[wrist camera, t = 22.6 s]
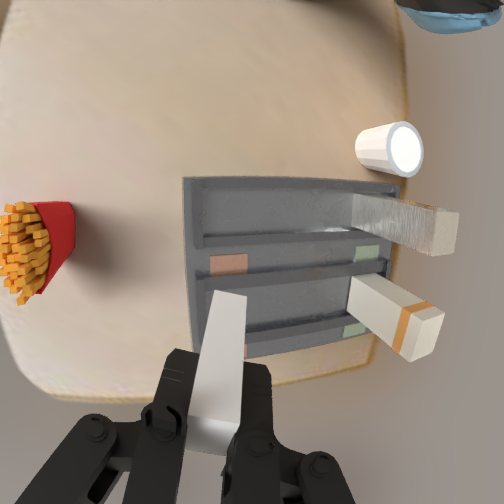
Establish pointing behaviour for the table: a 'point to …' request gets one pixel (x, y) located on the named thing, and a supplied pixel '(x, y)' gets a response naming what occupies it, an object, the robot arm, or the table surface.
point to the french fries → (35, 244)
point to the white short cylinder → (391, 149)
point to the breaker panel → (296, 251)
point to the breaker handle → (395, 315)
